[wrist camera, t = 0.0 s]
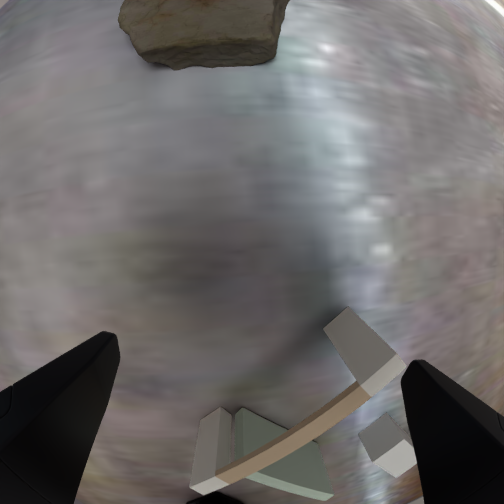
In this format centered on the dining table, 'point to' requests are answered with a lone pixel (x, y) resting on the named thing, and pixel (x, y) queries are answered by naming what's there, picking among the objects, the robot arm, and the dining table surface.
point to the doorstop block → (388, 446)
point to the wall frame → (367, 385)
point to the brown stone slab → (203, 31)
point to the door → (282, 459)
